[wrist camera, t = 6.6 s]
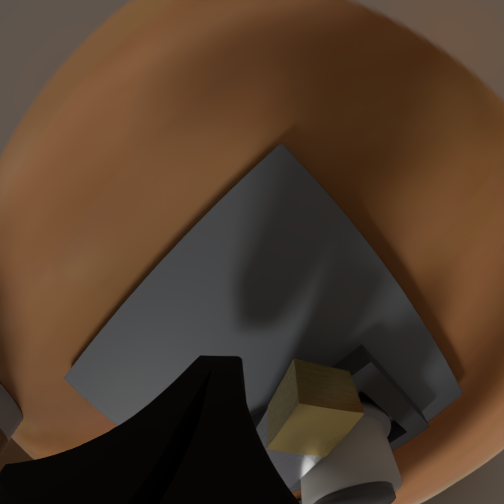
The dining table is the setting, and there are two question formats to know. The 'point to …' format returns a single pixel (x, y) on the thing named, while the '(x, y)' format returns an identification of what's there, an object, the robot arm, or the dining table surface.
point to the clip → (308, 417)
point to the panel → (271, 309)
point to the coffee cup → (8, 417)
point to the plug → (356, 465)
